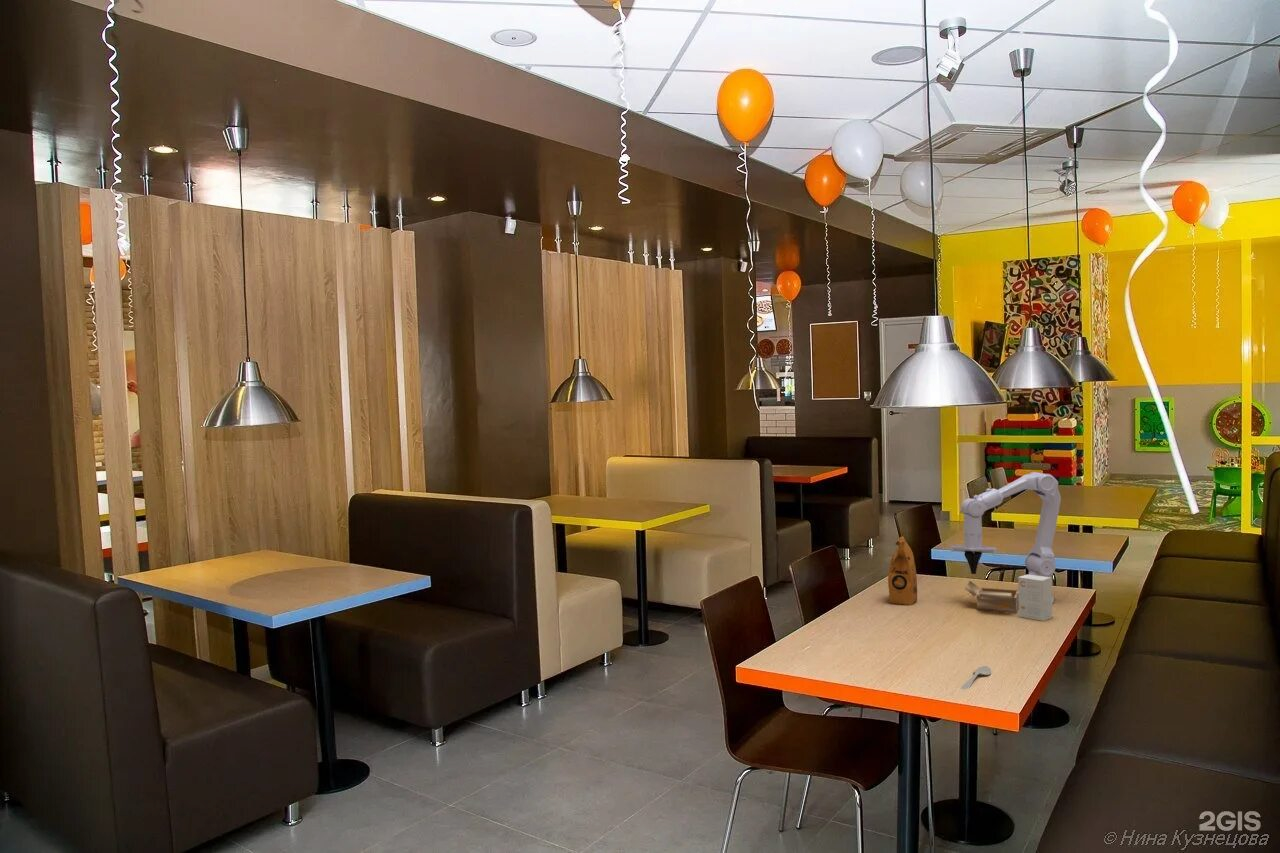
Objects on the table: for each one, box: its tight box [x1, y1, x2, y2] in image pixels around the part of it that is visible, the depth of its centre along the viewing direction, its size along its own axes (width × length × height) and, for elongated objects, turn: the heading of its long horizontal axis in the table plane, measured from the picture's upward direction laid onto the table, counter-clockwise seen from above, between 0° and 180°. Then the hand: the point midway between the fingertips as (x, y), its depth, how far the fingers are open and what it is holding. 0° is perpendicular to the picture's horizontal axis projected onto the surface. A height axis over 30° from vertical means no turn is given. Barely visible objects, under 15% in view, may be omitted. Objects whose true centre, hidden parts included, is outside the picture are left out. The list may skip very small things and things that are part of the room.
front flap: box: [979, 590, 1012, 601], centre depth 285 cm, size 4×10×1 cm
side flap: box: [964, 580, 981, 597], centre depth 296 cm, size 4×10×1 cm
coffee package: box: [887, 535, 918, 606], centre depth 305 cm, size 10×12×22 cm
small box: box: [1017, 573, 1053, 622], centre depth 278 cm, size 8×6×13 cm
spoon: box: [960, 665, 992, 691], centre depth 220 cm, size 4×21×2 cm, turn 141°
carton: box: [976, 587, 1019, 614], centre depth 292 cm, size 12×12×5 cm
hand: (973, 573), depth 298 cm, fingers closed
